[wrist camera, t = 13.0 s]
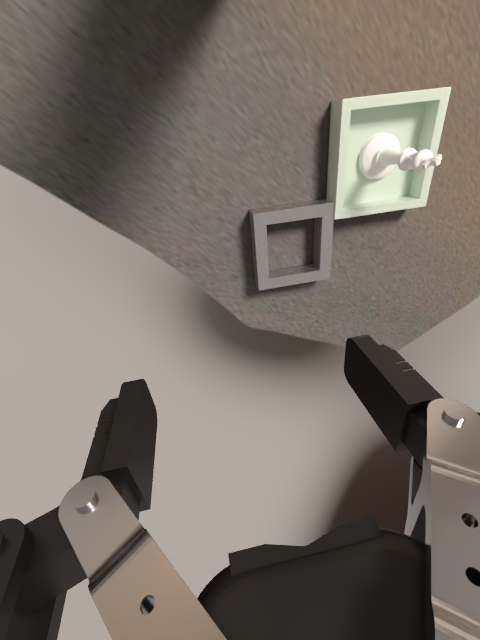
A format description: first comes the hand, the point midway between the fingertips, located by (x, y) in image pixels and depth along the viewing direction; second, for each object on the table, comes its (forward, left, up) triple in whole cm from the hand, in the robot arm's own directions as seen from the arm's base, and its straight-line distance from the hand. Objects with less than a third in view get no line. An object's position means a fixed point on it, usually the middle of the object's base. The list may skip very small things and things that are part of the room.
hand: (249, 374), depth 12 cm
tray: (-4, +22, -29) cm, 37 cm away
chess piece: (-4, +22, -29) cm, 36 cm away
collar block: (+5, +11, -29) cm, 32 cm away
